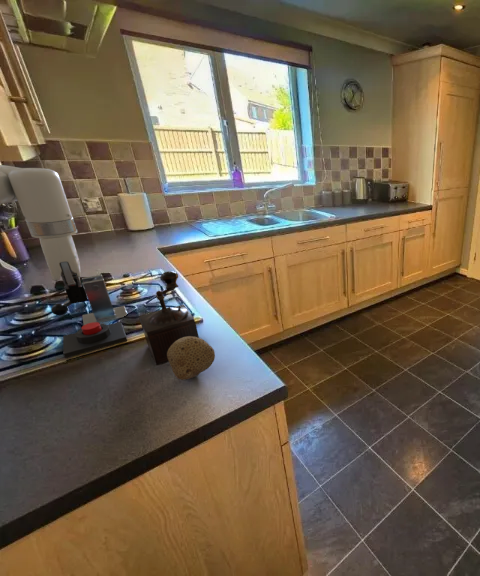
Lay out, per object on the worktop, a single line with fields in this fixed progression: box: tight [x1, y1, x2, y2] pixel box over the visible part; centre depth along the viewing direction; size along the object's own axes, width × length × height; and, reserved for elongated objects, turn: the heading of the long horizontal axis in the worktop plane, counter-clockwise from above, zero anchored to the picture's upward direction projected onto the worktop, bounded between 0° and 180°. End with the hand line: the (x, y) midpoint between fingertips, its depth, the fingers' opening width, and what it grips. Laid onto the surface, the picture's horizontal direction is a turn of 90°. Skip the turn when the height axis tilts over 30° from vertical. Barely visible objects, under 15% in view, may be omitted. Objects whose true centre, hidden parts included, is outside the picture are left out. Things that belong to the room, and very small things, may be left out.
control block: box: [62, 321, 129, 362], centre depth 84 cm, size 12×10×4 cm
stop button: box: [81, 322, 102, 335], centre depth 83 cm, size 4×4×2 cm
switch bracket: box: [81, 274, 128, 326], centre depth 94 cm, size 10×8×13 cm
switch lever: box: [50, 278, 98, 316], centre depth 90 cm, size 13×3×3 cm, turn 131°
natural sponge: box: [167, 336, 216, 381], centre depth 74 cm, size 9×9×10 cm
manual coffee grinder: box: [138, 270, 200, 366], centre depth 83 cm, size 16×11×18 cm
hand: (79, 301), depth 80 cm, fingers closed
